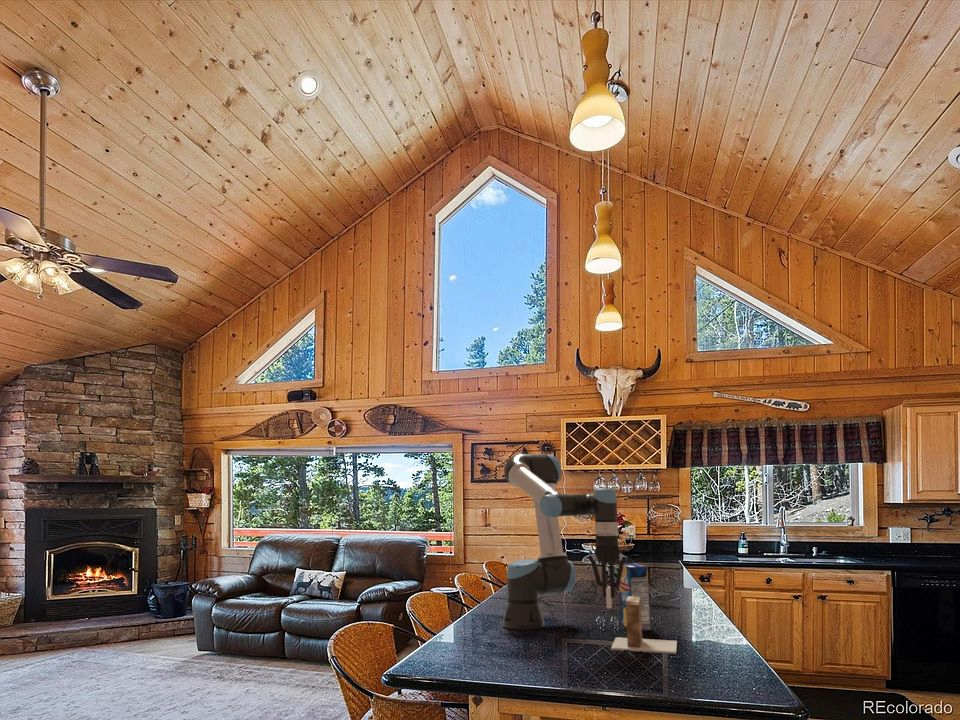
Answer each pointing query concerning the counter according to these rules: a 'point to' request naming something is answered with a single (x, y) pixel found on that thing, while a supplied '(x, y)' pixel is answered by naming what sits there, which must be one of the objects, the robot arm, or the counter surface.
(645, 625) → the beverage box
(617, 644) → the felt mat
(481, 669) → the counter surface
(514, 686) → the counter surface
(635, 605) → the beige rectangular box
